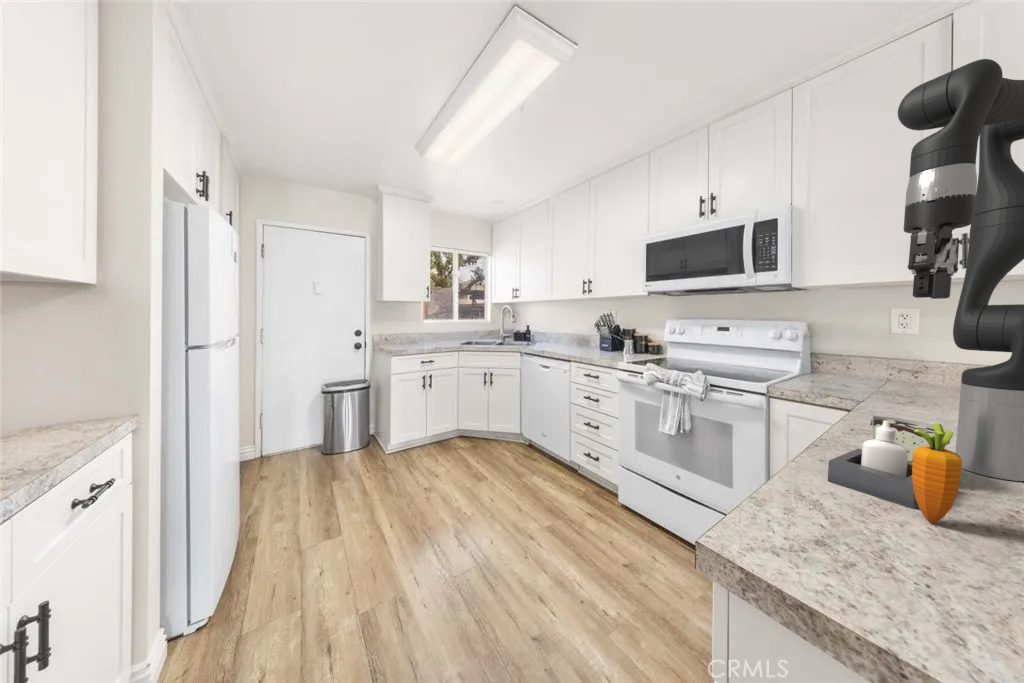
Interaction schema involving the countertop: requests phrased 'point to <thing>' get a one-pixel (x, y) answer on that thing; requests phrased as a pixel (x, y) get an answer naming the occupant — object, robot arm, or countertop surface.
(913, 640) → the countertop surface
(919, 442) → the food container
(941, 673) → the countertop surface
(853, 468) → the grey square frame
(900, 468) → the eye dropper bottle
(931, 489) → the carrot
